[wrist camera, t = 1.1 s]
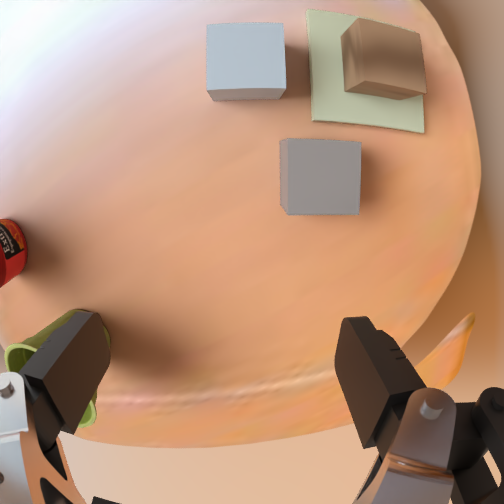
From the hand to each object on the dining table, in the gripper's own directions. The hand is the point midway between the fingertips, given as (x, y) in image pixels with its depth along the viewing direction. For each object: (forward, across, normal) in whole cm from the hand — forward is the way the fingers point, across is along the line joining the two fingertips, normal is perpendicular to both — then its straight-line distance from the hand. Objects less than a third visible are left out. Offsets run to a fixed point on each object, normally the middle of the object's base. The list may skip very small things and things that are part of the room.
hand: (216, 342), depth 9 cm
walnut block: (+19, -13, -15) cm, 27 cm away
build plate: (+20, -13, -15) cm, 28 cm away
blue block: (+20, -1, -14) cm, 24 cm away
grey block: (+20, -7, -4) cm, 21 cm away
